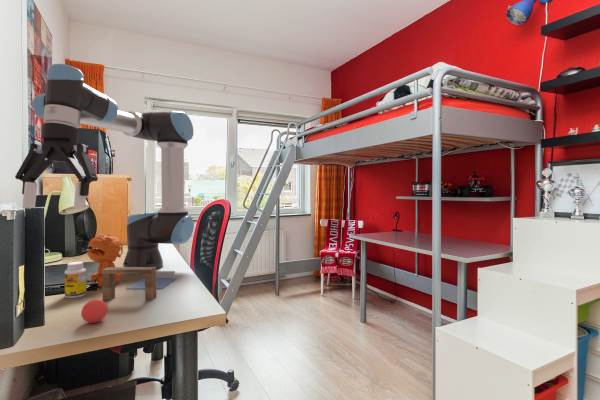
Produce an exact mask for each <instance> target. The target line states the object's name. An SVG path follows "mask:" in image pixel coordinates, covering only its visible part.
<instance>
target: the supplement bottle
mask: <svg viewBox="0 0 600 400" xmlns="http://www.w3.org/2000/svg"><path fill="white" fill-rule="evenodd" d="M87 279H88V278H87V268H86V267H84V262H83V261H73V262H69V263H67V269H65V271H64V297H65V298H66V299H77V298H82V297H85V295H87V293H88V291H87V290H88V289H87V287H88V286H87Z"/></svg>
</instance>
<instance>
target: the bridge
mask: <svg viewBox="0 0 600 400" xmlns="http://www.w3.org/2000/svg"><path fill="white" fill-rule="evenodd" d="M156 271H157V269H156V267H123V266H119V267H118V266H117V267H116V266H115V267H107V268H105V269H103V270H102V287H101V288H102V289H101V290H102V293H101V294H102V297H101V298H102V301H104V302H105V301H108V302H109V301H111V300H113V299H115V298H116V284H115V274H122V275H124V274H125V275H129V274H133V275H135V274H137V275H138V274H139V275H143V274H144V279H145V289H144V301H153V300H155V299H157V289H156Z"/></svg>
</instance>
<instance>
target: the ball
mask: <svg viewBox="0 0 600 400" xmlns="http://www.w3.org/2000/svg"><path fill="white" fill-rule="evenodd" d="M108 309H109V308H108V305H107V303H106V302H105V301H103V299H98V298H97V299H91V300H89V301H88V302H86V303H85V304H84V305H83V306H82V309H81V317H82V319H83V320H84V321H85V322H87V323H91V324H93V323H95V324H96V323H98V322H100V321H102V320H103V319H105V317H106V316H107V314H108Z"/></svg>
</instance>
